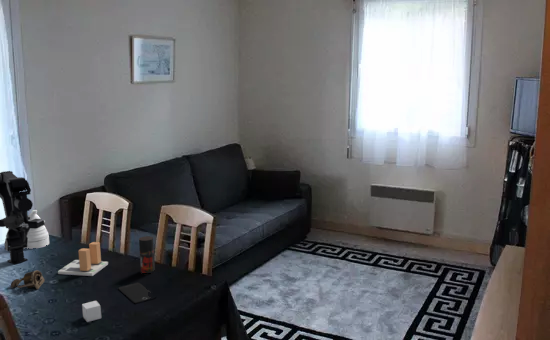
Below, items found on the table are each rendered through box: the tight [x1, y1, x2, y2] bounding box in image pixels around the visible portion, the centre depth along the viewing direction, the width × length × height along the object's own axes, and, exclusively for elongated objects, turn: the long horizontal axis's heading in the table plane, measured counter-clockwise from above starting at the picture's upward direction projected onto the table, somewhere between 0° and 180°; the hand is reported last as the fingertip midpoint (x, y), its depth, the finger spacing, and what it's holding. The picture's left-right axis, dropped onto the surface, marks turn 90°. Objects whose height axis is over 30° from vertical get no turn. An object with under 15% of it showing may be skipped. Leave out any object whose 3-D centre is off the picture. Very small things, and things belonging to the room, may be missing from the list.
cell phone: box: [118, 282, 152, 305], centre depth 213 cm, size 9×18×1 cm, turn 36°
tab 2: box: [88, 241, 102, 264], centre depth 241 cm, size 4×3×9 cm
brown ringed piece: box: [10, 270, 45, 290], centre depth 220 cm, size 7×13×10 cm
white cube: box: [81, 300, 102, 323], centre depth 192 cm, size 5×5×5 cm
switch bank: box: [57, 259, 109, 277], centre depth 239 cm, size 16×14×1 cm
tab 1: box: [78, 247, 91, 271], centre depth 233 cm, size 4×3×9 cm
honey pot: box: [26, 209, 50, 250], centre depth 271 cm, size 13×13×18 cm
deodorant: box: [138, 235, 156, 274], centre depth 234 cm, size 6×6×15 cm
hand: (23, 241), depth 236 cm, fingers closed
